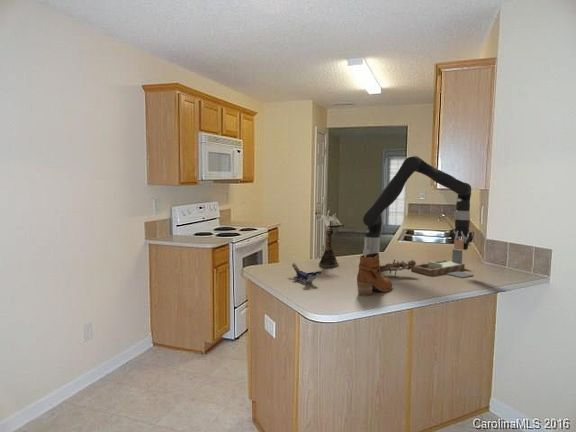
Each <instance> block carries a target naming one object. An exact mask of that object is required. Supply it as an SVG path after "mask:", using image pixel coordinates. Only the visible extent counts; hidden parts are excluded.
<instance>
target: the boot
mask: <svg viewBox="0 0 576 432" xmlns="http://www.w3.org/2000/svg"><path fill="white" fill-rule="evenodd" d="M380 261H381V260H380V252H379V253H372V254H367V255H366V257H364V255H363V254H362V255H360V256H359V263H358V272H357V276H356V285H357V293H358V295H359V296H361V297H363V296H364V297H366V296H371V295H373V290H375V291H378V292H382V293H386V292H389V291H390V290H391V289H393V283H392V282H393V281H392V280H391V279H390V278H388V277H383V275H382V273H380V266H381V265H380Z"/></svg>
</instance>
